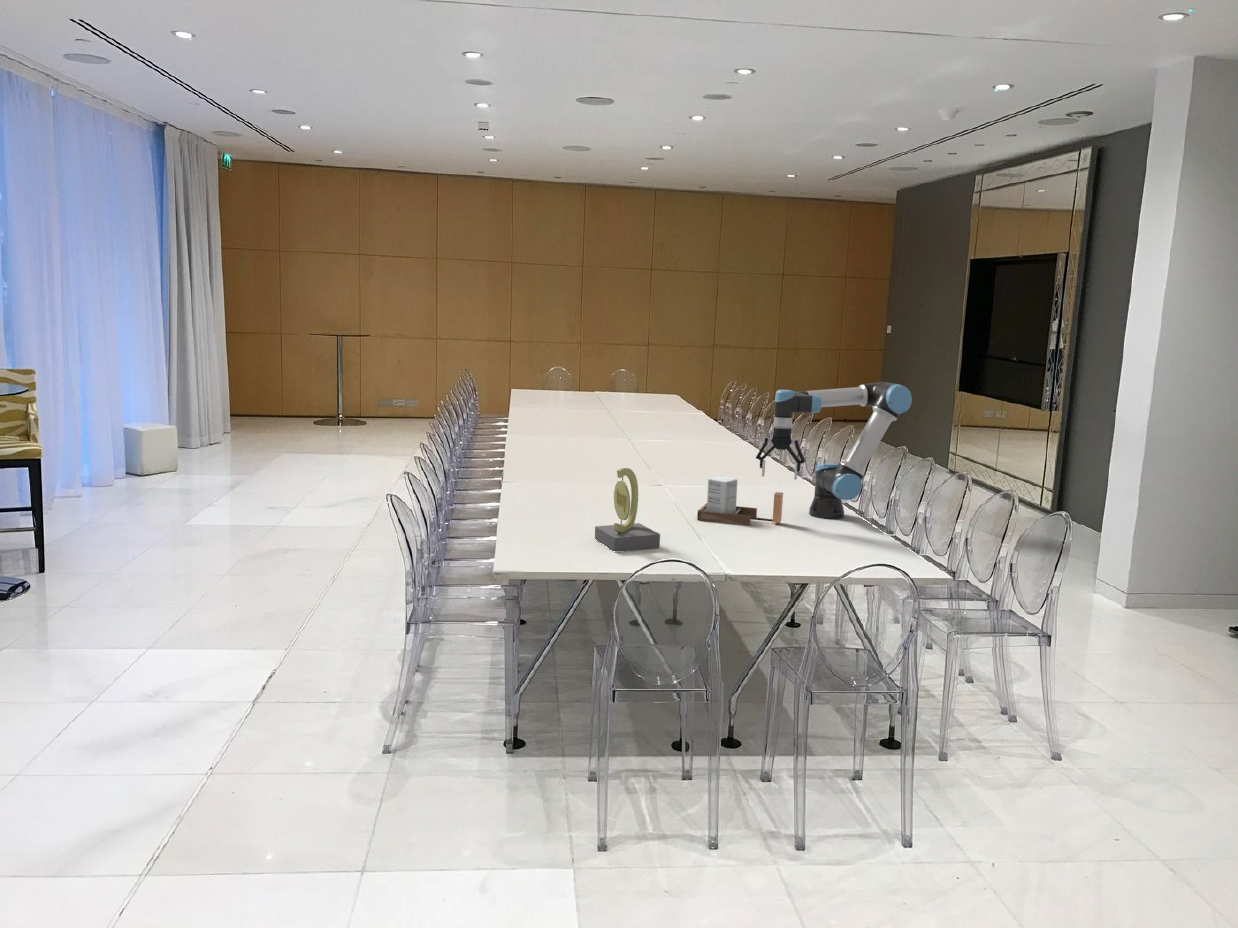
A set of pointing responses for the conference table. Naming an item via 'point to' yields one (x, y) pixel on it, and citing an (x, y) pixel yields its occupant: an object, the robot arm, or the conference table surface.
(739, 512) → the pusher tool
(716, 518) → the tray
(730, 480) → the supplement box
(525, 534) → the conference table surface
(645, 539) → the trophy
